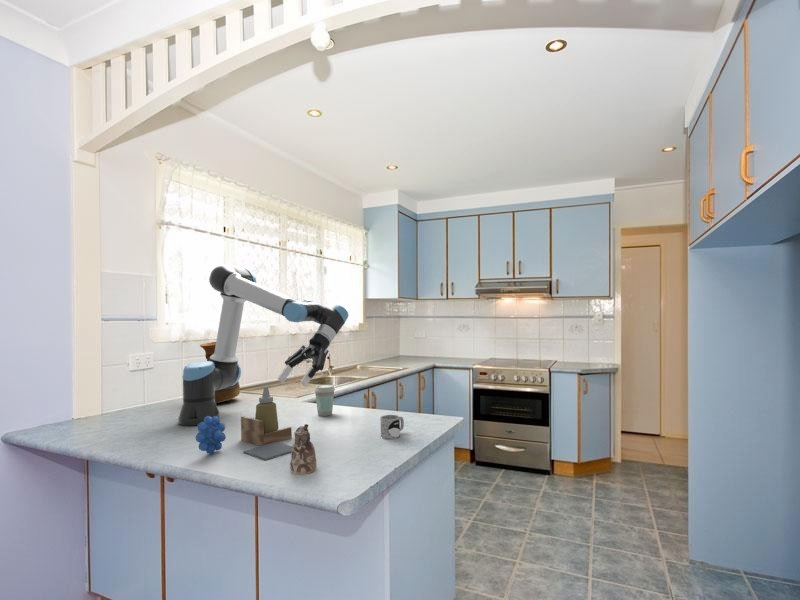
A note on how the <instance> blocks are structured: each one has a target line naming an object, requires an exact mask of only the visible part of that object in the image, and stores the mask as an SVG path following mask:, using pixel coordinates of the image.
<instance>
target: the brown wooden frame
mask: <svg viewBox="0 0 800 600" xmlns="http://www.w3.org/2000/svg"><path fill="white" fill-rule="evenodd" d="M292 429H293V428H292V427H291V426H289V427H285V428H284V427H283V428H281V429H278V430H277V431H273V432H269V433H265V434H264V421H262V420H258V419H255V417H254V418H253V417H249V416H246V415H240V433H241V435H240V439H241V441H242V442H243V441H244V442H247V443H250V444H253V445H255V444H256V445H255V446H258V447H259V446H263V445H266V444H270V443H273V442H281V441H284V440H287V439H288V440H289V439H292V437H293V436H292V435H293V434H292V433H293V432H292Z"/></svg>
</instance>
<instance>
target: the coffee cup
mask: <svg viewBox="0 0 800 600" xmlns="http://www.w3.org/2000/svg"><path fill="white" fill-rule="evenodd" d="M335 391H336V389H335V386H334V385H332V384H318V385H316V386H315V388H314V394H315V402H316V409H317V410H316V411H317V415H320V416H319V417H328V416H327V415H330V416H332V415H333V407H334V406H333V405H334V397H335ZM331 414H332V415H331Z"/></svg>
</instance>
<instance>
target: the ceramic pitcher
mask: <svg viewBox="0 0 800 600" xmlns="http://www.w3.org/2000/svg"><path fill="white" fill-rule="evenodd" d="M199 346H200V348H202V349H203V350H204V352H205V359H206V361H209V359H210V356H212V355H213V354H214V352H215V346H216V341H212V342H205V343H202V344H200V345H199ZM240 394H241V388H240V382H239V380H238V382H237V383H236V384H235V385H233V386H231V387H229V388H226V389H221V390H217V391H215V403H216V404H218V403H219V404H220V403H222V402H223V403H224V402H226V401H231V400H232V399H234V398H236V397H238V396H239V395H240Z"/></svg>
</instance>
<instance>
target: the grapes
mask: <svg viewBox="0 0 800 600" xmlns="http://www.w3.org/2000/svg"><path fill="white" fill-rule="evenodd" d="M196 426H197V431H198V432H197V433H196V434H195V436H194V437H195V438H194V439H195V440H196V442H197V443H199V444H198V448H199V450H200V451H201V452H206V453H207V454H208V455H213V454H214V453H215V452H216V451H220V450H221V449H222V446H223V445H222V443H223V442H224V441H225V440H226V439H227V436H226V434H225V432H224V431H225V429H226V426H225V424H224V423H222V422H221V419H220V417H219V418H218V417H217V416H214V417H213V418H212V417H210V416H206V417H205V418H204V423H203V422H201V423H199V424H198V425H196Z"/></svg>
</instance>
